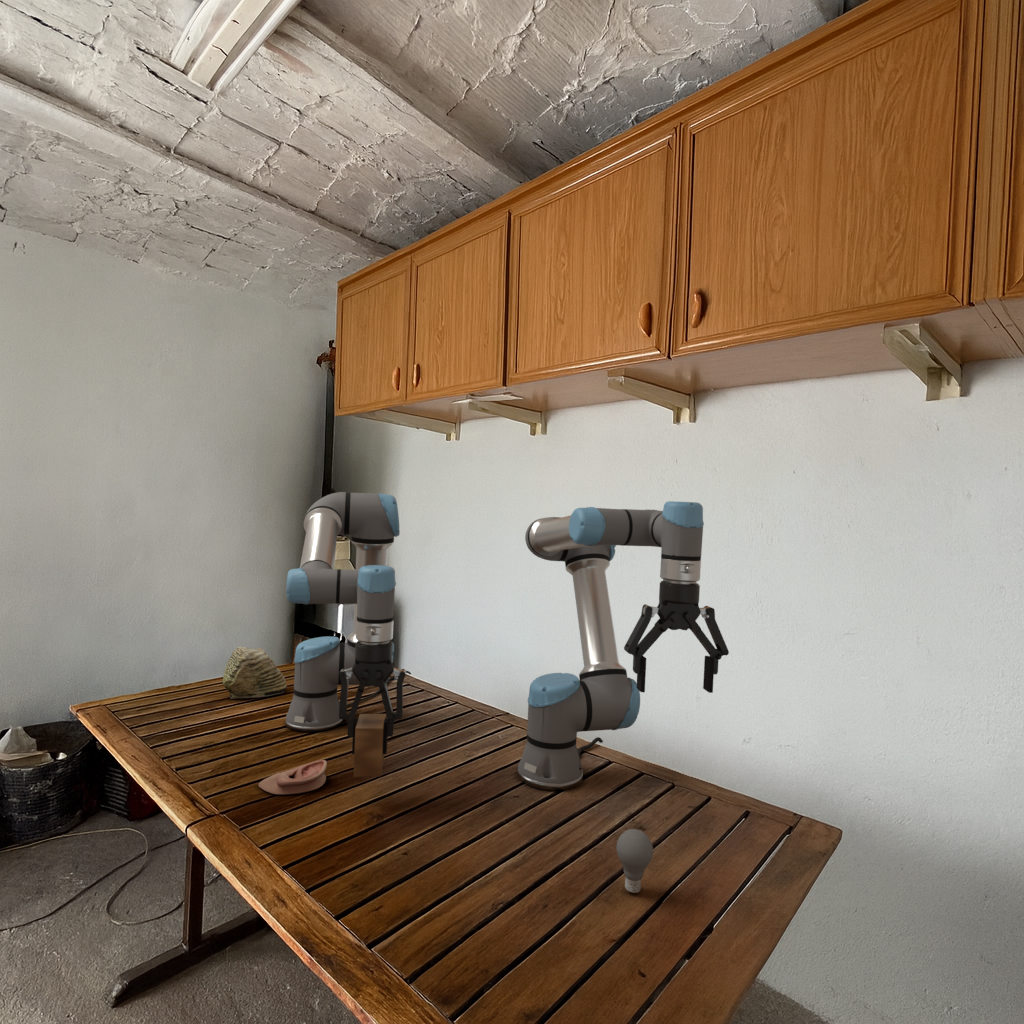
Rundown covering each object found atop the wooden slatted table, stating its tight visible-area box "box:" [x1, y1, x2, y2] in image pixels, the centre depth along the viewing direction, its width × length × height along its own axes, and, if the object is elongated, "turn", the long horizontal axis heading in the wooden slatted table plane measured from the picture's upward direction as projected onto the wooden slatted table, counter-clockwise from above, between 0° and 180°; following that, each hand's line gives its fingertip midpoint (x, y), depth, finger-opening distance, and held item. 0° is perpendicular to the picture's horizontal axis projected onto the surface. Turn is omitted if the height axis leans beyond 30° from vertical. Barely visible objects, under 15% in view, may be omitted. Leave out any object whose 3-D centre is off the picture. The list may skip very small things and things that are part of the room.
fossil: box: [222, 646, 288, 699], centre depth 198 cm, size 9×18×15 cm, turn 132°
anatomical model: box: [257, 759, 328, 795], centre depth 139 cm, size 13×4×12 cm
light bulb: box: [615, 828, 654, 894], centre depth 106 cm, size 6×6×10 cm
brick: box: [353, 713, 387, 778], centre depth 132 cm, size 5×8×10 cm, turn 8°
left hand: (369, 751), depth 132 cm, fingers closed on brick, 5 cm apart
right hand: (674, 690), depth 123 cm, fingers open, 13 cm apart
